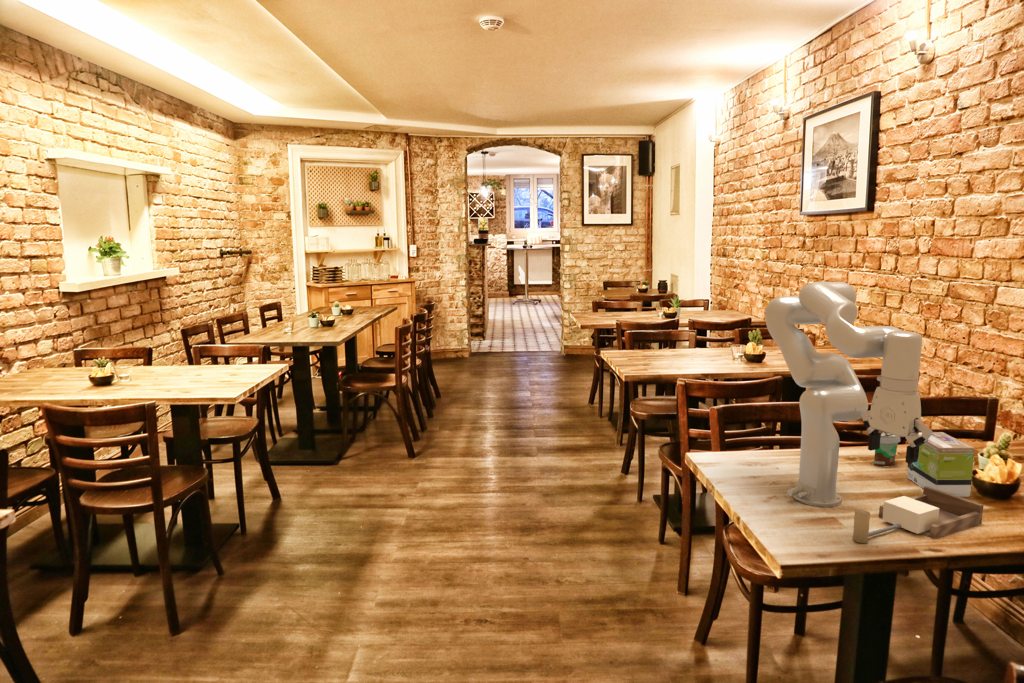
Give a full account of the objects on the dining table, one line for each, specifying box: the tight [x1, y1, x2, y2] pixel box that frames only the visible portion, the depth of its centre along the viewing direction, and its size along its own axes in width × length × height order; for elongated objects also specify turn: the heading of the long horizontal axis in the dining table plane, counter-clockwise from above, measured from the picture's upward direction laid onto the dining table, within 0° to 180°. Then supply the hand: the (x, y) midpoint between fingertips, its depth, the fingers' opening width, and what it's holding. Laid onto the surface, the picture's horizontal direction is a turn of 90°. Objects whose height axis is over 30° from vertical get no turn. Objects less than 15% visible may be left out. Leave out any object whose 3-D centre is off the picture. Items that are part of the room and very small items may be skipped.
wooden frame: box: [878, 486, 984, 540], centre depth 169 cm, size 19×14×5 cm
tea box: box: [906, 431, 975, 498], centre depth 191 cm, size 15×10×15 cm
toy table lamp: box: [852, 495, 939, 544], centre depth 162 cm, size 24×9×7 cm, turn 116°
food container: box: [873, 431, 901, 467], centre depth 212 cm, size 12×6×10 cm, turn 143°
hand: (891, 455), depth 156 cm, fingers open, 9 cm apart
